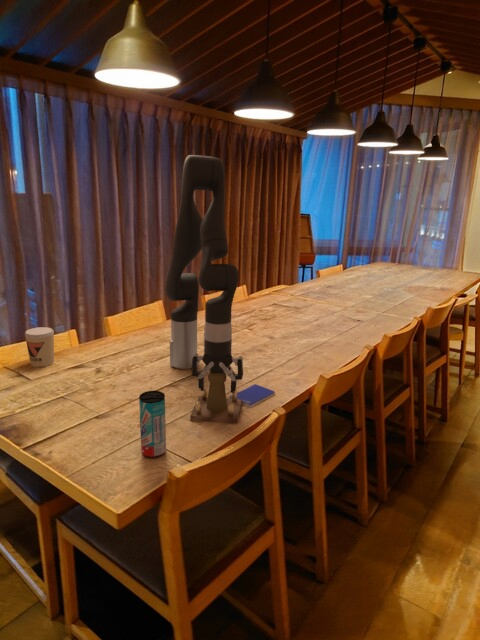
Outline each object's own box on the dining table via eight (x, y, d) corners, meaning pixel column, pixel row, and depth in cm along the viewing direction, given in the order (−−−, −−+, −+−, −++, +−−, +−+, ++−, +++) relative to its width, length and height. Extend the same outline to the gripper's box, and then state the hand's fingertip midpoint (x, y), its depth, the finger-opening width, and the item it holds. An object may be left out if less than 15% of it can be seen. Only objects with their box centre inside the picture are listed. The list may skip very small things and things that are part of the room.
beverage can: (145, 444, 112) (143, 389, 108) (168, 446, 112) (167, 391, 108) (138, 458, 107) (135, 400, 102) (162, 460, 106) (161, 402, 102)
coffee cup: (22, 365, 158) (18, 332, 155) (41, 356, 167) (38, 325, 163) (43, 369, 155) (39, 336, 152) (62, 360, 164) (59, 328, 160)
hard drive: (250, 404, 132) (275, 391, 142) (229, 395, 137) (254, 383, 147) (250, 409, 133) (274, 395, 142) (229, 400, 138) (254, 387, 147)
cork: (203, 403, 131) (203, 368, 128) (223, 400, 133) (223, 366, 130) (210, 413, 125) (210, 376, 122) (230, 409, 128) (231, 374, 125)
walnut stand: (190, 420, 124) (190, 404, 123) (198, 400, 136) (198, 385, 134) (237, 424, 123) (237, 407, 122) (241, 403, 135) (241, 388, 133)
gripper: (245, 333, 126) (243, 387, 131) (195, 330, 127) (195, 383, 132) (242, 342, 119) (240, 398, 123) (189, 339, 120) (189, 394, 125)
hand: (217, 390), depth 128 cm, fingers open, 8 cm apart
